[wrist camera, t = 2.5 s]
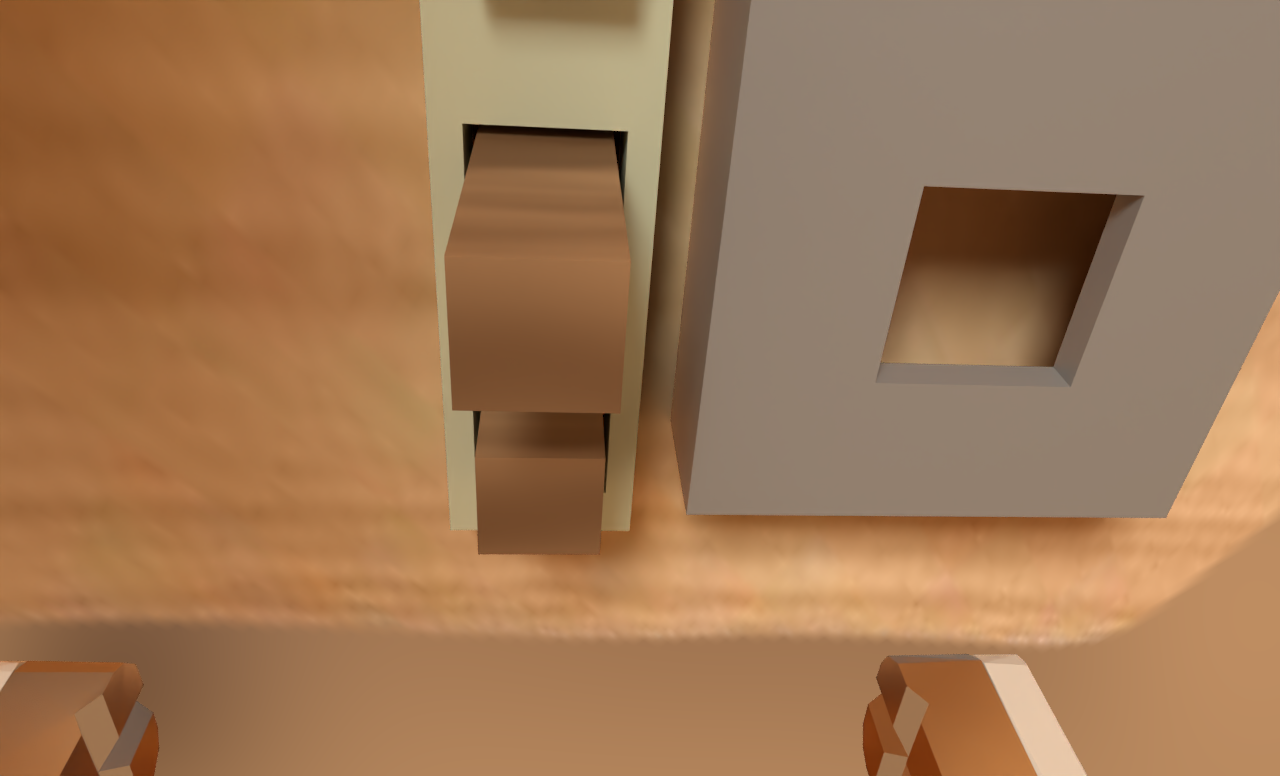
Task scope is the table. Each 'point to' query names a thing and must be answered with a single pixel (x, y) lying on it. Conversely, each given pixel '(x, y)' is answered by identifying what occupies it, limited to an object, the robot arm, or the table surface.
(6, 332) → the table surface
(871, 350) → the hole bridge
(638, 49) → the peg rack
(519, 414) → the pin medium
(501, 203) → the pin long
